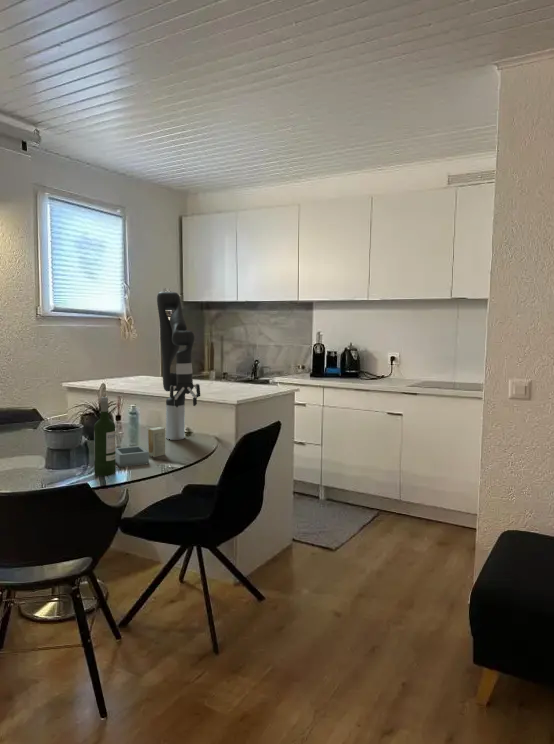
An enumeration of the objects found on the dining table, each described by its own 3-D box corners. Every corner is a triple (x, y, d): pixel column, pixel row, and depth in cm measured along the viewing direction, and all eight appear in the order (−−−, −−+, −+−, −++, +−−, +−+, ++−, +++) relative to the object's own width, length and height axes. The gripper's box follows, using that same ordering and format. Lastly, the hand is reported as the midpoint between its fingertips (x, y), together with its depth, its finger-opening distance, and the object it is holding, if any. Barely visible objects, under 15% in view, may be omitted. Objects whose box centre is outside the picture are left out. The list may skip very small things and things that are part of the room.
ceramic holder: (113, 459, 230) (112, 448, 229) (141, 456, 236) (141, 445, 235) (119, 467, 220) (119, 455, 219) (148, 463, 225) (148, 452, 225)
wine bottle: (114, 475, 208) (113, 398, 205) (92, 476, 206) (91, 399, 203) (116, 470, 215) (116, 395, 212) (96, 470, 214) (95, 395, 211)
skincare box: (160, 453, 243) (160, 426, 242) (165, 455, 240) (165, 428, 239) (147, 455, 239) (147, 428, 237) (153, 457, 235) (153, 429, 234)
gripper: (197, 371, 262) (198, 404, 264) (167, 372, 257) (169, 406, 258) (201, 372, 255) (202, 406, 257) (170, 374, 250) (172, 408, 251)
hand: (185, 406), depth 257 cm, fingers open, 8 cm apart
